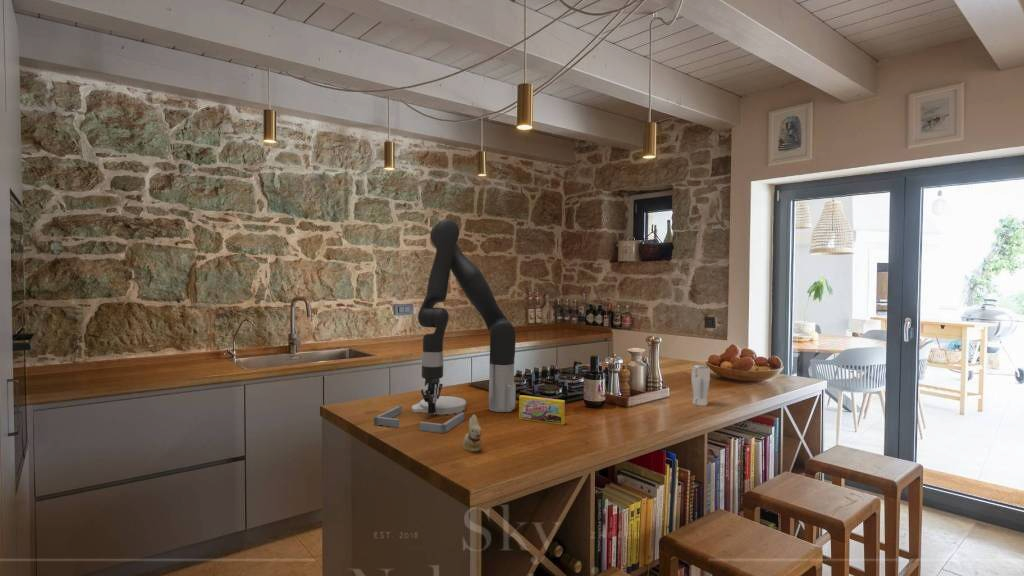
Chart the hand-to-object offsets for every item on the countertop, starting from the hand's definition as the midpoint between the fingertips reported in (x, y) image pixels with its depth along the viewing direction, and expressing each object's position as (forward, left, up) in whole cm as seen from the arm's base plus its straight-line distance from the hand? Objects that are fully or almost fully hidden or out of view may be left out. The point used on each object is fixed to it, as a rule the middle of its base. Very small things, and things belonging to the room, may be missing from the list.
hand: (431, 412), depth 188 cm
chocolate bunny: (-26, +27, -1) cm, 37 cm away
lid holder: (0, +9, -1) cm, 9 cm away
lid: (+2, -10, -2) cm, 10 cm away
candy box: (-38, -7, -1) cm, 39 cm away
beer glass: (-91, -53, -1) cm, 105 cm away
